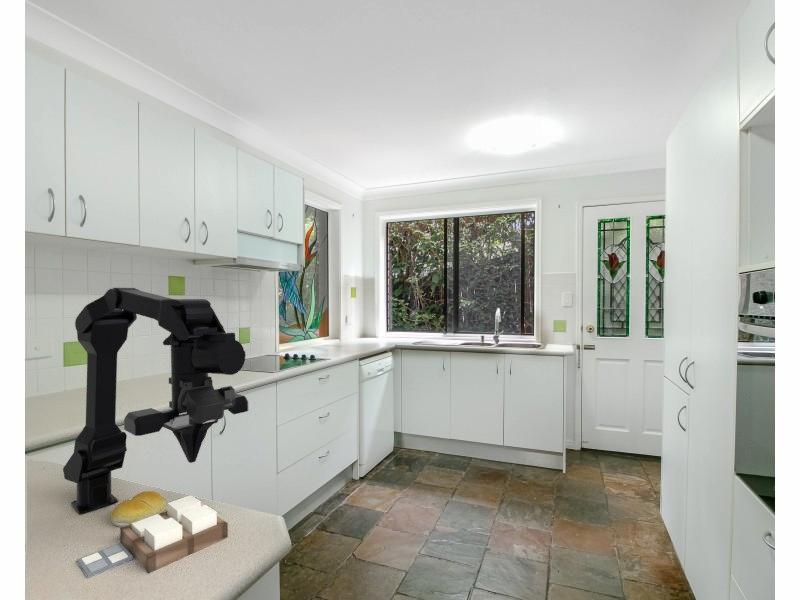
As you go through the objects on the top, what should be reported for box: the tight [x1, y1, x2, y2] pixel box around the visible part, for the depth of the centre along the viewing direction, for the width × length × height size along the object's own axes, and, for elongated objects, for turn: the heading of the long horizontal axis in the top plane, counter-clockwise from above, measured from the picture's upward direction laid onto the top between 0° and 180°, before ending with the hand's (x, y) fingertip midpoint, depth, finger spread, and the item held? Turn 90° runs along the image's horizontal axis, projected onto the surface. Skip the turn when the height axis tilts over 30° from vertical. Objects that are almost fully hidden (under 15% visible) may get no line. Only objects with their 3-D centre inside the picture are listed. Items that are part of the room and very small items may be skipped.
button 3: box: [166, 495, 202, 522], centre depth 78 cm, size 4×4×3 cm
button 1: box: [132, 514, 165, 538], centre depth 73 cm, size 4×4×3 cm
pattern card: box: [76, 542, 134, 579], centre depth 68 cm, size 6×6×1 cm
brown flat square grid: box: [119, 504, 229, 574], centre depth 74 cm, size 13×13×2 cm
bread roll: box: [110, 490, 167, 528], centre depth 82 cm, size 8×9×4 cm
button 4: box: [181, 504, 218, 535], centre depth 74 cm, size 4×4×3 cm
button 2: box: [144, 517, 182, 551], centre depth 70 cm, size 4×4×3 cm
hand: (191, 461), depth 74 cm, fingers closed
